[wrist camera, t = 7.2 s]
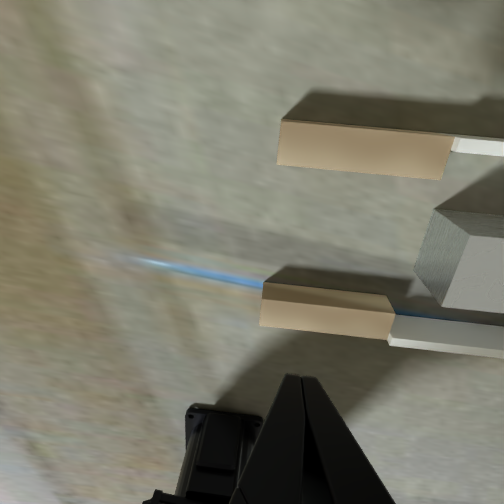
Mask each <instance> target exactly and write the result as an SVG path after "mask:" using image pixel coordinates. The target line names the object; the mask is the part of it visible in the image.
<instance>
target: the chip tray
mask: <svg viewBox="0 0 504 504" xmlns="http://www.w3.org/2000/svg"><path fill="white" fill-rule="evenodd" d="M440 134H444V135H449V136H454V137H455V139H454V142H453V145H452V148H451V151H454V152H462V153H473V154H484V155H495V156H504V139H501V138H490V137H479V136H468V135H457V134H445V133H440ZM387 341H388V343H389V346H397V347H406V348H415V349H423V350H432V351H441V352H450V353H458V354H467V355H476V356H484V357H493V358H502V359H504V327H503V326H494V325H485V324H476V323H467V322H458V321H449V320H440V319H431V318H422V317H413V316H404V315H395V318H394V321H393V324H392V327H391V330H390V333H389V336H388V339H387Z"/></svg>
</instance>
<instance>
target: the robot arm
mask: <svg viewBox="0 0 504 504" xmlns="http://www.w3.org/2000/svg"><path fill="white" fill-rule="evenodd" d="M185 432H186V453H185V457H184V461H183V465H182V468H181V472H180V476H179V479H178V483H177V487H176V491H175V494H174V495H172V494H167V493H163V491H161V490H157V489H155V491H154V494H153V497H152V498H151V499H150V500H146V501H143V503H142V504H396V503H395V502H394V500H393V499H392V497H391V495H390V494H389V492H388V491H387V489H386V487H385V486H384V484H383V483H382V481H381V479H380V478H379V476H378V475H377V473H376V472H375V470H374V468H373V467H372V465H371V464H370V462H369V460H368V459H367V457H366V456H365V454H364V452H363V451H362V449H361V448H360V446H359V444H358V443H357V441H356V440H355V438H354V436H353V435H352V433H351V432H350V430H349V428H348V427H347V425H346V424H345V422H344V421H343V419H342V417H341V416H340V414H339V413H338V411H337V409H336V408H335V406H334V405H333V403H332V401H331V400H330V398H329V397H328V395H327V393H326V392H325V390H324V389H323V387H322V385H321V384H320V382H319V381H318V379H317V378H316V377H311V376H304V375H303V376H301V377H300V376H299V375H296V374H288V373H287V374H285V376H284V378H283V380H282V382H281V385H280V387H279V389H278V392H277V394H276V396H275V399H274V401H273V403H272V405H271V408H270V410H269V412H268V415H267V417H266V419H265V422H264V424H263V419H262V418H261V417H258V416H250V415H242V414H234V413H226V412H218V411H210V410H202V409H194V408H190V409H188V410H187V411H186V415H185Z"/></svg>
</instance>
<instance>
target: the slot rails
mask: <svg viewBox="0 0 504 504" xmlns="http://www.w3.org/2000/svg"><path fill="white" fill-rule="evenodd" d="M454 139H455V137H454V136H449V135H444V134H440V133H434V132H423V131H412V130H401V129H389V128H378V127H367V126H356V125H345V124H333V123H322V122H311V121H300V120H289V119H281V127H280V136H279V145H278V155H277V165H287V166H297V167H308V168H318V169H329V170H339V171H350V172H360V173H371V174H381V175H392V176H403V177H413V178H424V179H434V180H441V177H442V174H443V172H444V169H445V166H446V163H447V160H448V157H449V154H450V151H451V148H452V145H453V142H454ZM395 315H396V313H395V311H394V309H393V308H392V306H391V304H390V302H389V300H388V298H387V296H386V295H378V294H369V293H360V292H350V291H341V290H332V289H323V288H314V287H305V286H295V285H286V284H277V283H268V282H264V283H263V292H262V301H261V311H260V321H259V325H260V326H269V327H277V328H286V329H295V330H304V331H312V332H321V333H330V334H339V335H347V336H356V337H365V338H374V339H382V340H387V339H388V336H389V333H390V330H391V327H392V324H393V321H394V318H395Z"/></svg>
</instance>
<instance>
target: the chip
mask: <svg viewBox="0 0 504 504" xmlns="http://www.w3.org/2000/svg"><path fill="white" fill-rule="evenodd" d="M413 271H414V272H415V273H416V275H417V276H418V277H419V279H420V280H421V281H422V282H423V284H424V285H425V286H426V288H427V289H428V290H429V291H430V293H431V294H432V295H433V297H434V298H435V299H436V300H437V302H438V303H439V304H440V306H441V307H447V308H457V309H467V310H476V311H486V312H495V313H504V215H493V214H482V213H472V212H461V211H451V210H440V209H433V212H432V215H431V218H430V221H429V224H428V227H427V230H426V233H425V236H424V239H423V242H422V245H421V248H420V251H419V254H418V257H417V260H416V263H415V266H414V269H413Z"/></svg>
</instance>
